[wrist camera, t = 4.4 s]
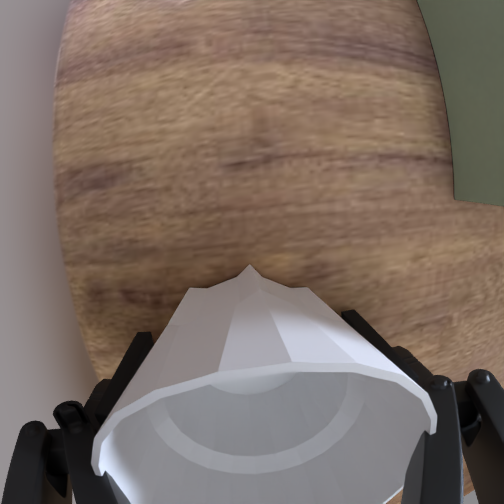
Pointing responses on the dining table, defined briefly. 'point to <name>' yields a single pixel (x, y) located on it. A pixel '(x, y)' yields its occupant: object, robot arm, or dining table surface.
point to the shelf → (472, 91)
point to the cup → (262, 406)
